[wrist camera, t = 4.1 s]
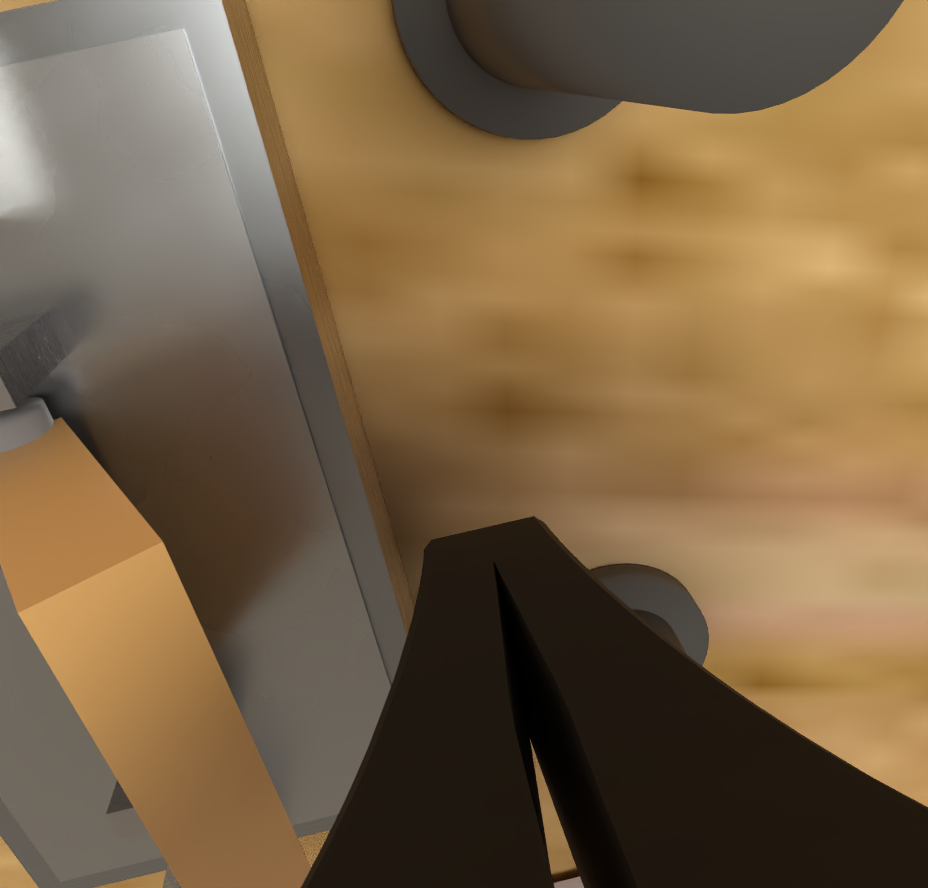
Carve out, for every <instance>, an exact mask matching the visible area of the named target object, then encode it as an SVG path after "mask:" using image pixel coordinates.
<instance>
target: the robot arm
mask: <svg viewBox="0 0 928 888" xmlns="http://www.w3.org/2000/svg"><path fill="white" fill-rule="evenodd" d="M530 740H531V743H532V745H533V748H534V751H535V754H536V756H537V759H538V762H539V765H540V768H541V770H542V773H543V776H544V779H545V781H546V784H547V787H548V790H549V792H550V795H551V798H552V801H553V804H554V806H555V809H556V812H557V815H558V817H559V820H560V823H561V826H562V828H563V831H564V834H565V837H566V839H567V842H568V845H569V848H570V850H571V853H572V856H573V859H574V861H575V864H576V867H577V870H578V872H579V875H580V876H579V877H575V878H571V879H567V880H563V881H559V882H555V883H553V879H552V875H551V871H550V864H549V858H548V851H547V845H546V839H545V832H544V826H543V819H542V813H541V807H540V800H539V794H538V788H537V781H536V775H535V768H534V762H533V756H532V749H531V743H530ZM301 888H928V807H926V806H924V805H922V804H921V803H919V802H917V801H915V800H913V799H911V798H909V797H908V796H906V795H904V794H902V793H900V792H898V791H896V790H895V789H893V788H891V787H889V786H887V785H885V784H884V783H882V782H880V781H878V780H876V779H874V778H872V777H871V776H869V775H867V774H866V773H864V772H862V771H860V770H859V769H857V768H856V767H854V766H852V765H851V764H849V763H847V762H846V761H844V760H842V759H841V758H839V757H837V756H836V755H834V754H832V753H831V752H829V751H828V750H826V749H824V748H823V747H821V746H819V745H818V744H816V743H814V742H813V741H811V740H809V739H808V738H806V737H805V736H803V735H801V734H800V733H798V732H797V731H795V730H794V729H792V728H791V727H789V726H788V725H786V724H784V723H783V722H781V721H780V720H778V719H777V718H775V717H774V716H772V715H771V714H769V713H768V712H766V711H765V710H763V709H762V708H760V707H758V706H757V705H755V704H754V703H753V702H751V701H750V700H748V699H747V698H745V697H744V696H742V695H741V694H740V693H738V692H737V691H735V690H734V689H732V688H731V687H730V686H728V685H727V684H726V683H724V682H723V681H721V680H720V679H719V678H717V677H716V676H714V675H713V674H712V673H710V672H709V671H708V670H706V669H705V668H704V667H702V666H701V665H700V664H699V663H697V662H696V661H695V660H693V659H692V658H691V657H689V656H688V655H687V654H685V653H684V652H683V651H682V650H680V649H679V648H678V647H676V646H675V645H674V644H672V643H671V642H670V641H669V640H668V639H666V638H665V637H664V636H663V635H661V634H660V633H659V632H658V631H656V630H655V629H654V628H653V627H652V626H650V625H649V624H648V623H647V622H646V621H644V620H643V619H642V618H641V617H640V616H639V615H638V614H636V613H635V612H634V611H633V610H632V609H631V608H630V607H628V606H627V605H626V604H625V603H624V602H623V601H621V600H620V599H619V598H618V597H617V596H616V595H615V594H613V593H612V592H611V591H610V590H609V589H608V588H607V587H606V586H605V585H604V584H603V583H601V582H600V581H599V580H598V579H597V578H596V577H595V576H594V575H593V574H592V573H591V572H590V571H589V570H588V569H587V568H586V567H585V566H584V565H583V564H582V563H581V562H580V561H579V560H578V559H577V558H576V557H575V556H574V555H573V554H572V553H571V552H570V551H569V550H568V549H567V548H566V547H565V546H564V545H563V544H562V543H561V542H560V541H559V539H558V538H557V537H556V536H555V535H554V534H553V533H552V532H551V530H550V529H549V528H548V527H547V526H546V524H545V523H544V522H542V521H541V520H539V519H537V518H536V517H534V516H533V517H529V518H524V519H520V520H516V521H511V522H507V523H503V524H498V525H494V526H490V527H485V528H481V529H477V530H472V531H468V532H464V533H459V534H455V535H451V536H446V537H442V538H438V539H433V540H431V541H430V543H429V544H428V545H427V547H426V548H425V550H424V561H423V569H422V576H421V581H420V587H419V591H418V596H417V600H416V604H415V608H414V613H413V617H412V621H411V624H410V628H409V631H408V634H407V638H406V641H405V644H404V648H403V651H402V654H401V658H400V661H399V664H398V668H397V671H396V674H395V677H394V680H393V683H392V686H391V688H390V691H389V694H388V696H387V699H386V701H385V704H384V707H383V709H382V712H381V715H380V717H379V720H378V723H377V725H376V728H375V731H374V733H373V736H372V738H371V741H370V744H369V746H368V749H367V751H366V753H365V756H364V758H363V760H362V763H361V765H360V767H359V770H358V772H357V774H356V777H355V779H354V781H353V784H352V786H351V788H350V790H349V792H348V795H347V797H346V799H345V801H344V803H343V805H342V807H341V809H340V812H339V814H338V816H337V818H336V820H335V822H334V824H333V826H332V828H331V830H330V832H329V834H328V836H327V839H326V841H325V843H324V845H323V847H322V849H321V851H320V853H319V854H318V856H317V858H316V860H315V862H314V864H313V866H312V867H311V869H310V871H309V873H308V875H307V877H306V879H305V881H304V882H303V884H302V886H301Z"/></svg>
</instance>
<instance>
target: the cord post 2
mask: <svg viewBox="0 0 928 888" xmlns="http://www.w3.org/2000/svg"><path fill="white" fill-rule="evenodd" d="M590 572H591V573H592V574H593V575H594V576H595V577H596V578H597V579H598V580H599V581H600V582H601V583H603V584H604V585H605V586H606V587H607V588H608V589H609V590H610V591H611V592H612V593H613V594H615V595H616V596H617V597H618V598H619V599H620V600H621V601H623V602H624V603H625V604H626V605H627V606H628V607H630V608H631V609H632V610H633V611H634V612H635V613H636V614H638V615H639V616H640V617H641V618H642V619H643V620H644V621H646V622H647V623H648V624H649V625H650V626H652V627H653V628H654V629H655V630H656V631H658V632H659V633H660V634H661V635H663V636H664V637H665V638H666V639H668V640H669V641H670V642H671V643H672V644H674V645H675V646H676V647H678V648H679V649H680V650H682V651H683V652H684V653H685V654H687V655H688V656H689V657H691V658H692V659H693V660H695V661H696V662H697V663H699V664H700V665H701V666H702V665H703V663H704V660H705V657H706V655H707V650H708V642H709V634H708V627H707V624H706V621H705V618H704V616H703V614H702V612H701V610H700V609H699V607H698V606H697V604H696V603H695V601H694V599H693V598H692V596H691V595H690V593H689V592H688V591H687V589H686V588H685V587H684V586H683V585H682V584H681V583H680V582H679V581H678V580H677V579H675V578H674V577H672V576H671V575H669V574H667V573H665V572H663V571H661V570H658V569H655V568H651V567H648V566H642V565H629V564H624V565H612V566H607V567H601V568H598V569H594V570H591V571H590Z"/></svg>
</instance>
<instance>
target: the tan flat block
mask: <svg viewBox="0 0 928 888" xmlns="http://www.w3.org/2000/svg"><path fill="white" fill-rule="evenodd" d="M0 565H1V568H2V571H3V573H4V576H5V579H6V582H7V585H8V587H9V590H10V593H11V596H12V598H13V601H14V604H15V607H16V610H17V612H18V614H19V616H20V618H21V619H22V621H23V623H24V624H25V626H26V628H27V629H28V631H29V633H30V635H31V636H32V638H33V640H34V641H35V643H36V645H37V646H38V648H39V650H40V651H41V653H42V655H43V656H44V658H45V660H46V661H47V663H48V665H49V666H50V668H51V670H52V671H53V673H54V675H55V676H56V678H57V680H58V681H59V683H60V685H61V686H62V688H63V690H64V691H65V693H66V695H67V697H68V698H69V700H70V702H71V703H72V705H73V707H74V708H75V710H76V712H77V713H78V715H79V717H80V718H81V720H82V722H83V723H84V725H85V727H86V728H87V730H88V732H89V733H90V735H91V737H92V738H93V740H94V742H95V743H96V745H97V747H98V748H99V750H100V752H101V753H102V755H103V757H104V759H105V760H106V762H107V764H108V765H109V767H110V769H111V770H112V772H113V774H114V775H115V777H116V779H117V780H118V782H119V784H120V785H121V787H122V789H123V790H124V792H125V794H126V795H127V797H128V799H129V800H130V802H131V804H132V805H133V807H134V809H135V810H136V812H137V814H138V815H139V817H140V819H141V821H142V822H143V824H144V826H145V827H146V829H147V831H148V832H149V834H150V836H151V837H152V839H153V841H154V842H155V844H156V846H157V847H158V849H159V851H160V852H161V854H162V856H163V857H164V859H165V861H166V862H167V864H168V866H169V867H170V869H171V871H172V872H173V874H174V876H175V877H176V879H177V881H178V883H179V884H180V886H181V888H301V886H302V884H303V882H304V881H305V879H306V877H307V875H308V873H309V871H310V869H311V866H310V864H309V862H308V860H307V857H306V855H305V853H304V851H303V849H302V846H301V844H300V842H299V840H298V838H297V835H296V833H295V831H294V829H293V827H292V824H291V822H290V820H289V818H288V816H287V813H286V811H285V809H284V807H283V805H282V802H281V800H280V798H279V796H278V794H277V791H276V789H275V787H274V785H273V783H272V780H271V778H270V776H269V774H268V772H267V769H266V767H265V765H264V763H263V761H262V758H261V756H260V754H259V752H258V750H257V747H256V745H255V743H254V741H253V739H252V736H251V734H250V732H249V730H248V728H247V725H246V723H245V721H244V719H243V717H242V714H241V712H240V710H239V708H238V706H237V703H236V701H235V699H234V697H233V695H232V692H231V690H230V688H229V686H228V684H227V681H226V679H225V677H224V675H223V673H222V671H221V668H220V666H219V664H218V662H217V660H216V657H215V655H214V653H213V651H212V649H211V646H210V644H209V642H208V640H207V638H206V635H205V633H204V631H203V629H202V627H201V624H200V622H199V620H198V618H197V616H196V613H195V611H194V609H193V607H192V605H191V602H190V600H189V598H188V596H187V594H186V591H185V589H184V587H183V585H182V583H181V580H180V578H179V576H178V574H177V572H176V569H175V567H174V565H173V563H172V561H171V558H170V556H169V554H168V552H167V550H166V547H165V545H164V543H163V541H162V540H161V539H160V537H159V536H158V535H157V534H156V533H155V531H154V530H153V529H152V528H151V526H150V525H149V524H148V523H147V522H146V520H145V519H144V518H143V517H142V515H141V514H140V513H139V512H138V511H137V509H136V508H135V507H134V506H133V504H132V503H131V502H130V501H129V499H128V498H127V497H126V496H125V495H124V493H123V492H122V491H121V490H120V488H119V487H118V486H117V485H116V484H115V482H114V481H113V480H112V479H111V477H110V476H109V475H108V474H107V473H106V471H105V470H104V469H103V468H102V466H101V465H100V464H99V463H98V462H97V460H96V459H95V458H94V457H93V455H92V454H91V453H90V452H89V450H88V449H87V448H86V447H85V446H84V444H83V443H82V442H81V441H80V439H79V438H78V437H77V436H76V435H75V433H74V432H73V431H72V430H71V428H70V427H69V426H68V425H67V424H66V422H65V421H64V420H63V419H62V417H60V418H58V419H55V420H53V418H52V416H51V414H50V412H49V410H48V408H47V406H46V404H45V402H44V400H43V399H42V398H38V397H29V398H25V399H24V400H23V401H22V402H21V403H20V404H19V405H18V407H17V408H13V409H9V410H4V411H0Z"/></svg>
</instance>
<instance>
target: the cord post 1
mask: <svg viewBox="0 0 928 888" xmlns="http://www.w3.org/2000/svg"><path fill="white" fill-rule="evenodd" d="M902 2H903V0H392V7H393V14H394V19H395V23H396V26H397V30H398V34H399V37H400V40H401V42H402V45H403V48H404V50H405V53H406V55H407V57H408V59H409V61H410V63H411V65H412V66H413V68H414V70H415V72H416V74H417V75H418V76H419V78H420V79H421V81H422V82H423V84H424V85H425V86H426V88H427V89H428V90H429V91H430V92H431V93H432V94H433V95H434V97H435V98H436V99H437V100H438V101H439V102H440V103H441V104H443V105H444V106H445V107H446V108H447V109H449V110H450V111H451V112H452V113H454V114H455V115H457V116H458V117H460V118H461V119H463V120H465V121H466V122H468V123H470V124H472V125H474V126H476V127H478V128H481V129H483V130H485V131H487V132H490V133H493V134H497V135H500V136H503V137H509V138H516V139H545V138H552V137H558V136H561V135H565V134H568V133H571V132H574V131H576V130H579V129H581V128H583V127H585V126H588V125H590V124H591V123H593V122H595V121H596V120H598V119H600V118H601V117H603V116H604V115H606V114H607V113H608V112H610V111H611V110H612V109H613V108H615V107H616V106H617V105H618V104H619V103H620V102H621V101H627V102H634V103H641V104H649V105H656V106H663V107H670V108H678V109H685V110H692V111H699V112H707V113H727V114H737V113H744V112H751V111H758V110H762V109H765V108H769V107H772V106H776V105H779V104H783V103H785V102H787V101H789V100H792V99H794V98H796V97H799V96H801V95H803V94H805V93H807V92H809V91H810V90H812V89H814V88H815V87H817V86H819V85H821V84H822V83H824V82H826V81H827V80H829V79H830V78H831V77H833V76H834V75H835V74H836V73H838V72H839V71H840V70H842V69H843V68H844V67H846V66H847V65H848V64H849V63H850V62H852V61H853V60H854V59H855V58H856V57H857V56H858V55H859V54H860V53H861V52H862V51H863V50H864V49H865V48H866V47H867V46H868V45H869V44H870V43H871V42H872V41H873V40H874V38H875V37H876V36H877V35H878V34H879V33H880V31H881V30H882V29H883V28H884V27H885V26H886V24H887V23H888V22H889V20H890V19H891V18H892V16H893V15H894V13H895V12H896V10H897V9H898V8H899V6H900V5H901V3H902Z"/></svg>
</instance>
